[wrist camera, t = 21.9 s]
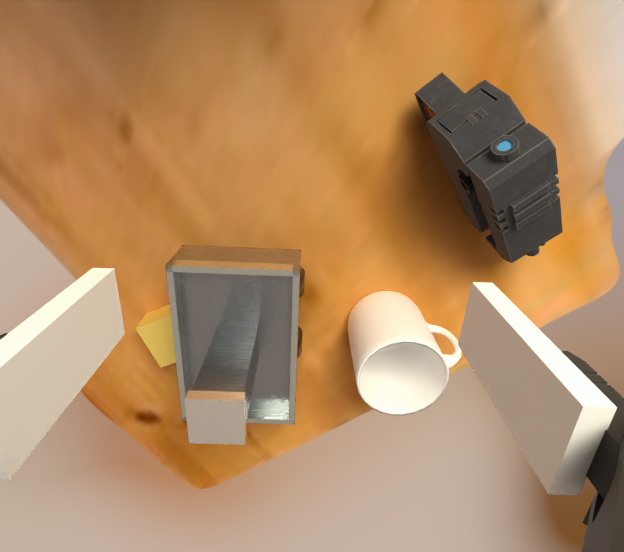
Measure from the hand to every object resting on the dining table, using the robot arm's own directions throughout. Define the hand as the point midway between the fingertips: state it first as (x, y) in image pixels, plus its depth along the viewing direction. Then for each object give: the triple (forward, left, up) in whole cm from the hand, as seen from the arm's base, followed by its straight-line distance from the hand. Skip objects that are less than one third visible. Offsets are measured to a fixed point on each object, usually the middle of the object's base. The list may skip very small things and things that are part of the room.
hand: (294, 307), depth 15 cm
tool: (-1, +18, -32) cm, 37 cm away
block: (+20, -16, -32) cm, 41 cm away
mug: (+18, +12, -32) cm, 39 cm away
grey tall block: (+16, -6, -22) cm, 28 cm away
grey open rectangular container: (+16, -6, -32) cm, 36 cm away
